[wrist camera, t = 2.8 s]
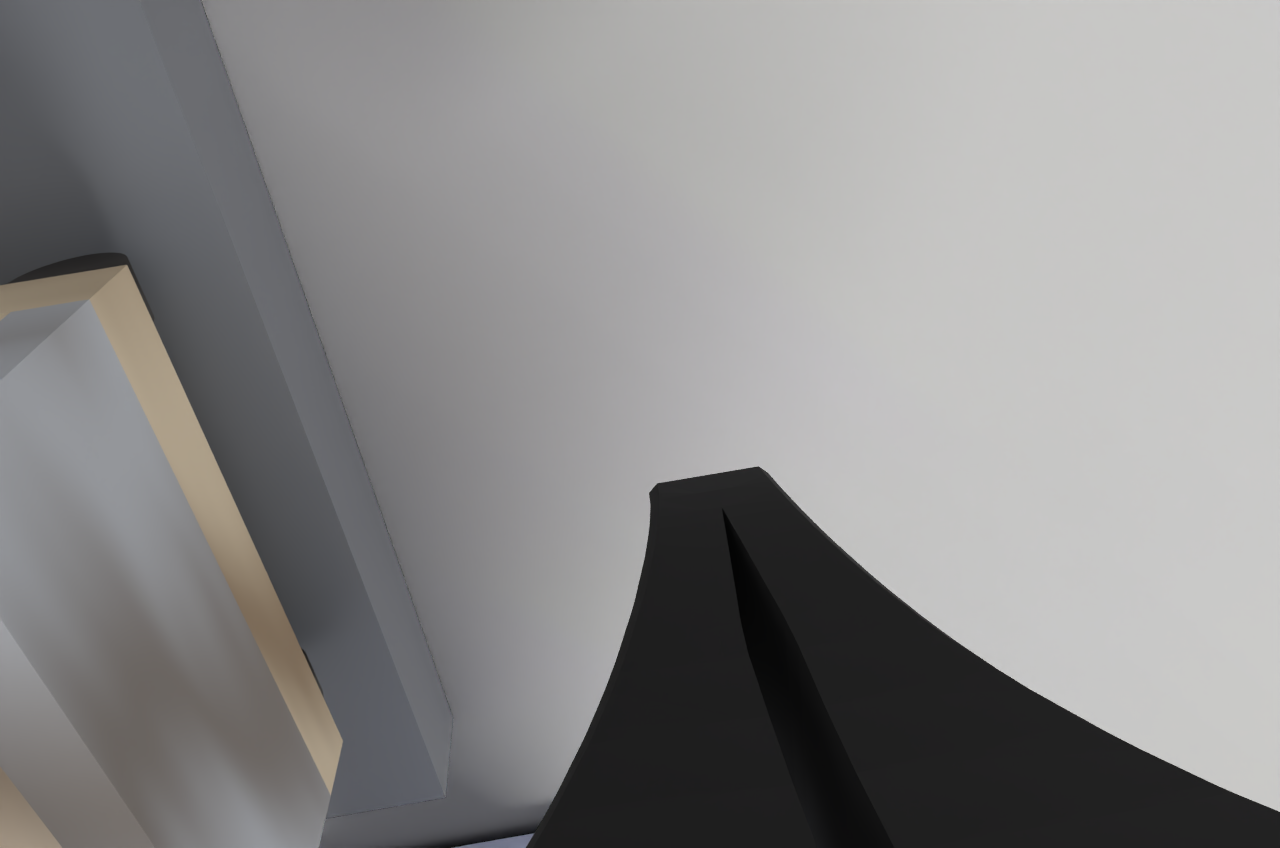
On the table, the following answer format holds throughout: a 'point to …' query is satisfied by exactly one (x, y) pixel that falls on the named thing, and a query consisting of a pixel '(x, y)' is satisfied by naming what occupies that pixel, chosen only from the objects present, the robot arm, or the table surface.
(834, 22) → the table surface
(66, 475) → the toy vehicle
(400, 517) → the table surface
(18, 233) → the dock
